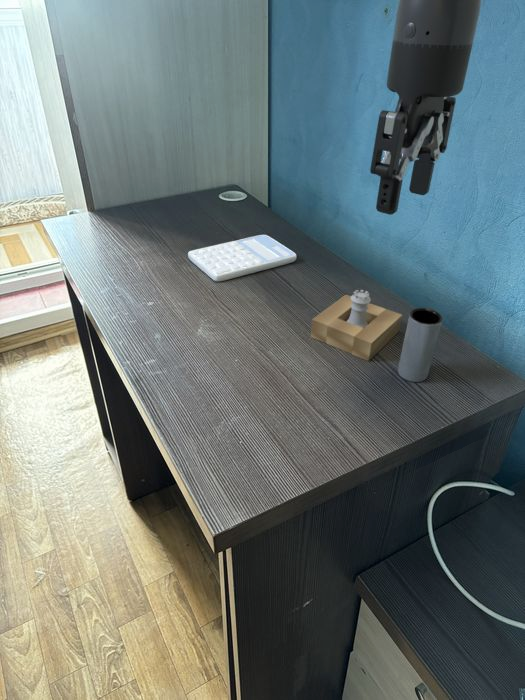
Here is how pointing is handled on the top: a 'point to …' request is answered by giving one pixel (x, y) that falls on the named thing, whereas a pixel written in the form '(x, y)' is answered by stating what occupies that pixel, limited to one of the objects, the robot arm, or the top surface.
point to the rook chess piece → (359, 308)
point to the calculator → (241, 257)
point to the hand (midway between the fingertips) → (403, 202)
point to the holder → (355, 328)
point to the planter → (419, 344)
